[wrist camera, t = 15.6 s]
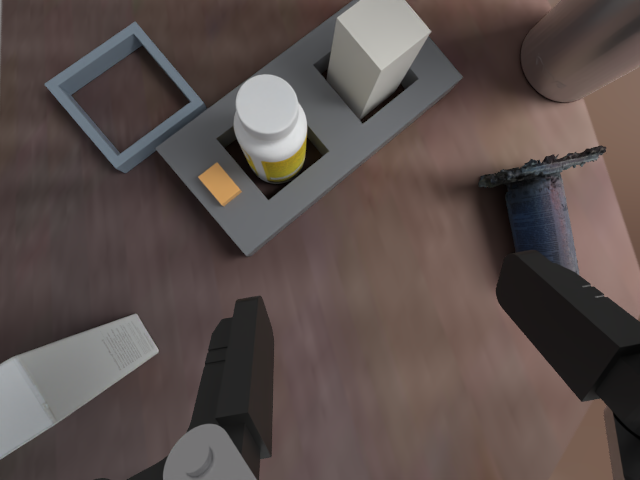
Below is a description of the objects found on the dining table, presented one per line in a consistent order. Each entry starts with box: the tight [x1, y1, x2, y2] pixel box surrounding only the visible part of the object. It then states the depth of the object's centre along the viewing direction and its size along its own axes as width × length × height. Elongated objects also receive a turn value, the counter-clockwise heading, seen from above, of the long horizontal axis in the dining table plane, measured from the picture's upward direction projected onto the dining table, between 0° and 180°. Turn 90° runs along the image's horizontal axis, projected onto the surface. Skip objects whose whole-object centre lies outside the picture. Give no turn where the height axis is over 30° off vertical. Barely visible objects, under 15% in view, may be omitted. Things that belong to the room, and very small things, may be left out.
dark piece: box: [478, 146, 606, 275], centre depth 27 cm, size 9×8×12 cm
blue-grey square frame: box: [45, 22, 207, 173], centre depth 27 cm, size 10×10×2 cm
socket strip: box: [155, 0, 463, 256], centre depth 25 cm, size 26×12×8 cm, turn 130°
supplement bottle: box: [234, 74, 307, 184], centre depth 24 cm, size 5×5×10 cm
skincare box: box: [0, 314, 159, 460], centre depth 20 cm, size 6×4×12 cm
